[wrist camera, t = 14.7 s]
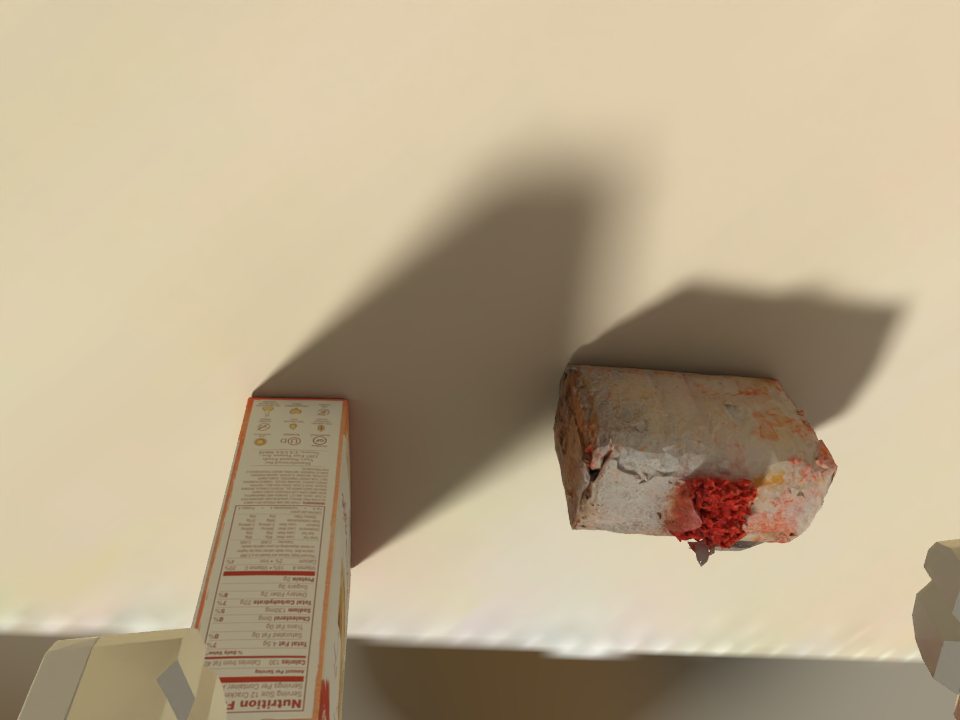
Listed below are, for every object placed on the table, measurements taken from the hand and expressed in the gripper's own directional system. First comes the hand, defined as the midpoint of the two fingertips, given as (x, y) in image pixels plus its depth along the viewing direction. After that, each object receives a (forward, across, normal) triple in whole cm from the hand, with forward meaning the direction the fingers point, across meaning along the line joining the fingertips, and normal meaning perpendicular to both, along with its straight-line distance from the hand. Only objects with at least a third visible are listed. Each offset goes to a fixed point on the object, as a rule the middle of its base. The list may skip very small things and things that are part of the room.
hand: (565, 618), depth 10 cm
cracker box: (+34, +12, +27) cm, 45 cm away
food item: (+34, -10, +24) cm, 43 cm away
